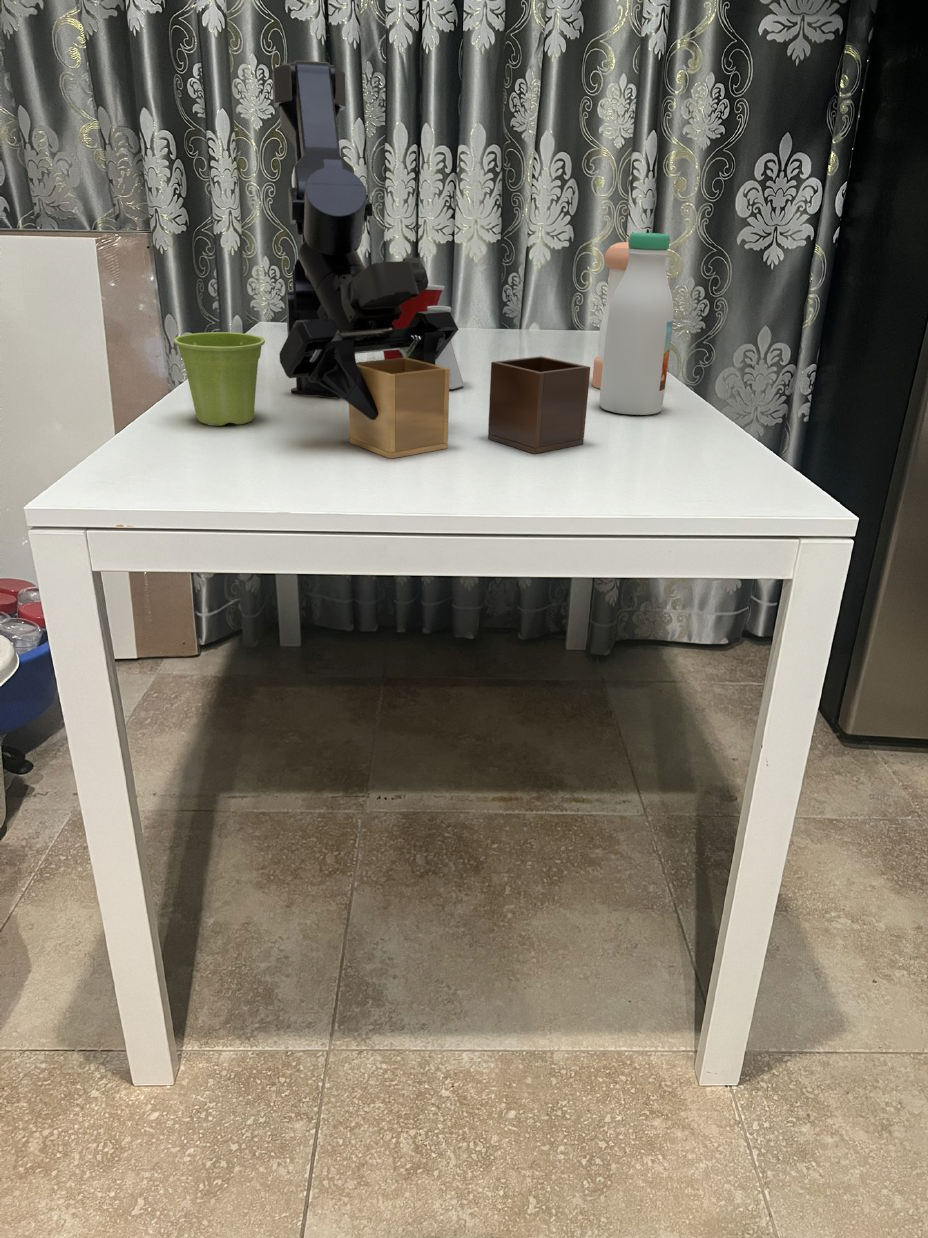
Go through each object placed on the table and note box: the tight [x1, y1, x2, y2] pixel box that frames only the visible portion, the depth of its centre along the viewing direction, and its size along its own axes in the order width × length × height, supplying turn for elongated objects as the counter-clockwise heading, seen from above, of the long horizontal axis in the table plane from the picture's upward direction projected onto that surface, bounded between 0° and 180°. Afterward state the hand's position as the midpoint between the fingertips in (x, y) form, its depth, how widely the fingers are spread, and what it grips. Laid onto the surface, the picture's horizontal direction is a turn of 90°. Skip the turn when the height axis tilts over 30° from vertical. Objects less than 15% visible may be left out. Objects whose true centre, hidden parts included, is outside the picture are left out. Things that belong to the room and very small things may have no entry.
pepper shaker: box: [591, 236, 629, 389], centre depth 120 cm, size 7×7×19 cm
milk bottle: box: [599, 232, 674, 416], centre depth 107 cm, size 8×8×20 cm
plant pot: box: [173, 331, 266, 427], centre depth 98 cm, size 9×9×9 cm
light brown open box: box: [348, 357, 450, 459], centre depth 91 cm, size 7×7×8 cm
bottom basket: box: [487, 355, 591, 455], centre depth 94 cm, size 7×7×8 cm
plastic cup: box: [382, 283, 445, 360], centre depth 130 cm, size 11×11×12 cm
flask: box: [427, 305, 465, 390], centre depth 119 cm, size 7×7×10 cm
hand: (406, 412), depth 90 cm, fingers closed on light brown open box, 7 cm apart
